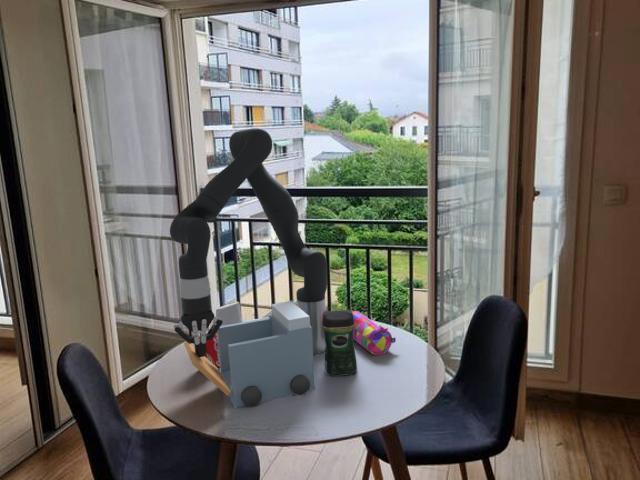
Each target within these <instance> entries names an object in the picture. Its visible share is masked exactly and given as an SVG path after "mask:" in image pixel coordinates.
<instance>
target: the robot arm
mask: <svg viewBox="0 0 640 480" xmlns="http://www.w3.org/2000/svg"><path fill="white" fill-rule="evenodd" d="M228 147H229V151H230V153H231V157H232V158H233V159H234V160H233V161H231V163H229V164H228V165H227V166H226V167H225V168H224V169H222V170H221V171H220V172H219V173H217V174H216V175H215V176H213V178H211V179H210V180H209V181H208V182H207V184H206V185H205V186H204V187H203V188H202V190H201V191H200V193H199V194H198V195H197V196H196V198H195V199H194V201H192V202H191V203H190V204H188V205H187V206H186V207H184V209H182V210H181V211H180V212H179V213H178V214H177V215H176V216H175V217H174V218H173V220H172V221H171V224H170V227H169V236H170V238H171V239H172V240H173V241H175V242H176V243H177V244H178V243H179V244H184V245H187V249H186V253H183V254H181V255H180V256H179V257H178V270H179V292H180V302H181V314H182V315H181V317H180V321H179V322H178V323H177V324H174V325H173V329H174V332H175V333H176V334H178V335H179V336H180V337H181V338H182V339H184V341H185V342H186V341H187V342H188V343H189V344H192V345H193V346H194V347H195V353H196V355H197V356H199V357H204V356H205V355H204V354H206V353H207V349H206V342H207V341H208V340H212V339H213V337H214V335H215V334H216V332H217V331H218V329H219V328H220V326H221V325H222V323H223V321H222V320H221V318H219V317H218V318H217V317H216V315H215V314H214V312H213V308H212V296H211V295H212V294H211V291H212V290H211V285H210V284H211V283H210V279H209V273H208V272H209V271H208V262H207V261H208V260H207V259H208V254H209V248H210V244H211V243H210V242H211V238H212V237H211V234H212V233H211V228H210V225H209V223H208V222H207V221H209V220H213V219H215V218H217V217H218V216H219V215H220V214H221V212H222V211H223V209H224V208H225V206H226V205H227V203H228V202H229V200H230V199H231V198H232V196H233V195H234V194H235V193H236V191H237V190H238V189H239V187H240V186H241V185H242V184H243V183H244V182H245V181H246V180H247V181H248V183H249V185H250V187H251V189H252V191H253V192H254V194H255V196H256V198H257V200H258V201H259V204H260V206H261V207H262V210H263V213H264V214H265V217H267V220H268V222H269V223H270V225H271V227H272V229H273V231H274V233H275V235H276V237H277V240H278V241H279V242H280V245H281V247H282V250H283V253H284V255H285V258H286V261H287V263H288V266H289V268H290V270H291V271H292V273H293V274H294V275H296V276H298V277H301V278H303V287H299V288H298V289H297V291H296V292H295V293H296V294H295V295H296V304H297V306H298V307H299V308H300V309H301V310H302V311H304V312H305V313H306V314H307V315H309V316H310V326H311V327H312V342H313V355H314V354H320V353H325V333H324V330H323V328H322V320H323V313H324V311H327V308H326V292H327V289H328V261H327V256H326V255H325V254H324V253H323V252H321V251H319V250H317V249H316V250H315V249H311V248H308V247H307V246H306V244H305V243H304V241H303V239H302V237H301V235H300V232H299V211H298V208H297V206H296V204H295V202H294V199H293V197H292V195H291V194H290V192H289V191H288V190H287V189H286V188H285V186H284V185H283V184H281V182H279V181H278V180H277V179H276V178H275V177H273V176H272V174H270V173H269V171H268V170H267V168H266V167H265V165H264V164H263V163H264V161H266V160H267V158H268V157H269V156H270V155H271V153H272V150H273V139H272V137H271V135H270V133H269V132H268V131H267V130H266V129H263V128H260V127H255V128H254V127H253V128H248V129H242V130H238V131H237V130H236V131H235V132H233V133H232V134H231V135H230V137H229V143H228ZM211 323H212V325H211ZM210 325H211V326H210ZM184 326H185V327H186V328H187V329H188V330H189V332H191V334H192V336H190V335H189V334H188V333H187V332H186V331H185V327H184ZM209 326H210V328H209ZM208 328H209V329H208ZM206 330H209V331H208V333H207V334H206ZM198 332H200V341H199V334H198Z"/></svg>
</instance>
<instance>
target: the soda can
mask: <svg viewBox="0 0 640 480" xmlns="http://www.w3.org/2000/svg"><path fill="white" fill-rule="evenodd" d="M209 330H210V329H206V334H207V333H208V331H209ZM198 334H199V341H200V331H198ZM206 349H207V353H206V354H204V355H205V357H206V358H207V359H208V360H209V361H210V362H211V363H212V364H213V365H215V366H216V367H217V368H218V369H219V370H221V369H220V358H219V347H218V336H217V334H215V335H214V337H213V339H212V340H208V341H207V342H206Z"/></svg>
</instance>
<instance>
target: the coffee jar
mask: <svg viewBox="0 0 640 480" xmlns="http://www.w3.org/2000/svg"><path fill="white" fill-rule="evenodd" d="M352 312H353V311H352V309H343V310H341V309H340V310H326V311H324V313H323V320H322V328H323V330H324V333H325V351H324V362H323V363H324V372H325V373H326V374H327V375H329V376H335V377H336V376H348V375H353V374H354V373H356V372H357V371H358V370H357V369H358V363H357V355H356V349H355V344H354V341H355V340H354V339H353V330H354V327H355V321H354V317H353V313H352Z"/></svg>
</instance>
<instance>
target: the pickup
mask: <svg viewBox="0 0 640 480" xmlns="http://www.w3.org/2000/svg"><path fill="white" fill-rule="evenodd" d="M291 301H292V300H287V301H283V302H277V303H271V313H268V314H269V317H265V318H258V319H253V320H247V321H242V322H241V323H235V324H230V325H224V326H220V328H219V329H218V331H217V336H218V347H219V358H220V369H219V370H220V373H221V374H222V376H223V378H224V380H225V382H226V384H227V386H228V388H229V390H230V391H231V393H230V394H229V395H228V396H227V397H228V398H229V400H230V402H231V404H232V405H233V408H234V409H237V408H241V407H248V408H253V407H256V406H258V405H259V404H260V403H263V402H266V401H271V400H274V399H279V398H284V397H287V396H291V395H296V396H303V395H305V394H307V392H309V391H312V390H315V389H316V388H315V387H316V386H315V385H316V384H315V382H316V381H315V365H314V362H315V361H314V354H313V342H312V327H311V326H310V316H309V315H307V314H306V313H305V312H304V311H302V310H301V309H300V308H299V307H298V306H296V305H295V304H296V303H295V304H294V301H293V302H291Z"/></svg>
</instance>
